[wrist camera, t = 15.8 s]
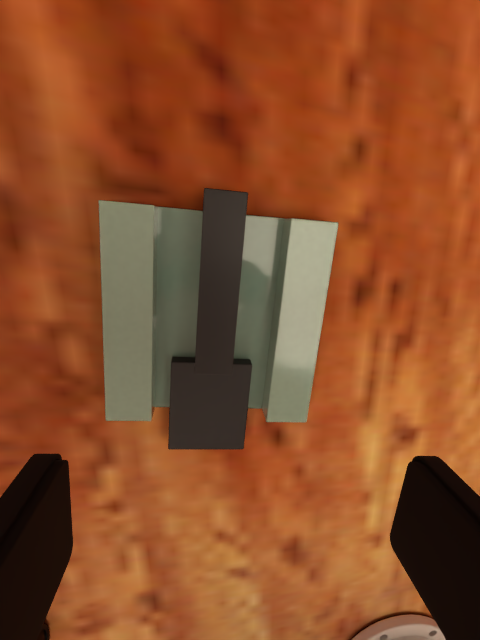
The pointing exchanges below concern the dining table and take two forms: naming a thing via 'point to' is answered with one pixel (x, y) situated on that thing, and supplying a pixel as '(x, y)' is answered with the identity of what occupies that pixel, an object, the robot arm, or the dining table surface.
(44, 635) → the submachine gun
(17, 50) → the dining table surface
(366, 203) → the dining table surface
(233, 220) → the spatula
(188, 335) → the spoon rest
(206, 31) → the dining table surface
